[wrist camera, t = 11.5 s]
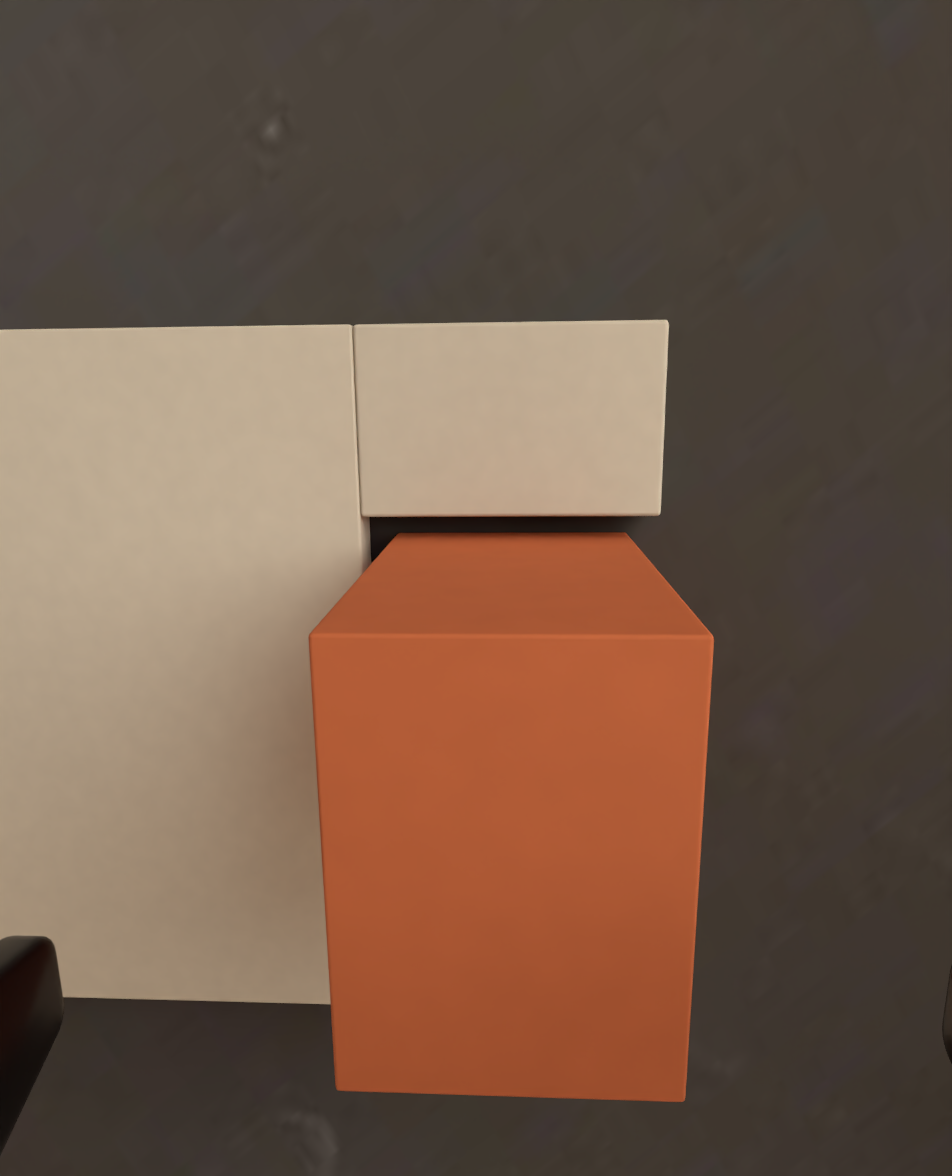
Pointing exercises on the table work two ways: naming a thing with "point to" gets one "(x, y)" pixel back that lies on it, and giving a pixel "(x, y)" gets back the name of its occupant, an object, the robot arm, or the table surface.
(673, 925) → the orange block
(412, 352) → the base pad
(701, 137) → the table surface
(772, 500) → the table surface
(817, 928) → the table surface
